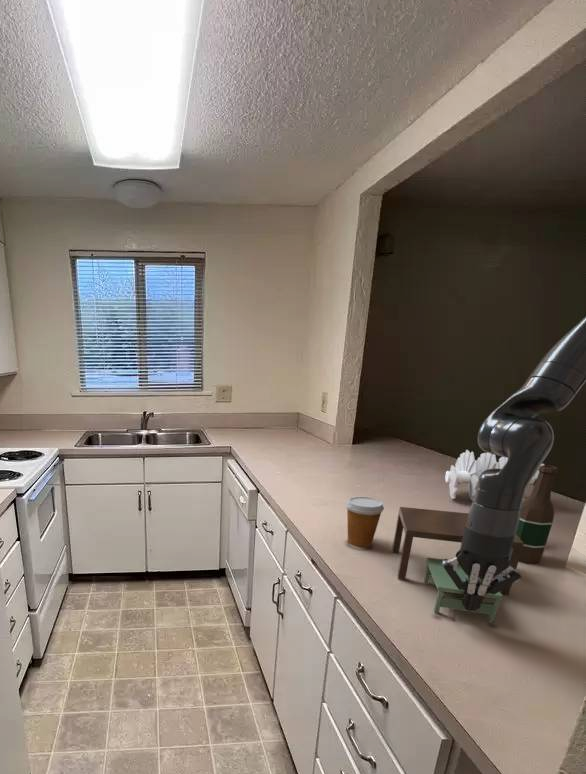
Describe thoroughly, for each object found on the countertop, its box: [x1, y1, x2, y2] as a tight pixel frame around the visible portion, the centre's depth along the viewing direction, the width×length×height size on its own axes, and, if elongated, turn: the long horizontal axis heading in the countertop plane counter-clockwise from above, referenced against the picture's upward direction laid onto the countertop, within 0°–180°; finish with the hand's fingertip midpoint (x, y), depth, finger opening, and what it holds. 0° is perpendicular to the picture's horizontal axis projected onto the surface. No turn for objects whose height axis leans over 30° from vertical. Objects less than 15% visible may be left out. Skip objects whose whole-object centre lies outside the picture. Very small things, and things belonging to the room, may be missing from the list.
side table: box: [391, 506, 524, 596], centre depth 103 cm, size 22×16×12 cm
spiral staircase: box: [444, 449, 545, 501], centre depth 148 cm, size 18×18×25 cm
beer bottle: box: [516, 464, 558, 565], centre depth 107 cm, size 8×8×24 cm
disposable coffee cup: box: [345, 496, 385, 548], centre depth 119 cm, size 10×10×12 cm
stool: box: [423, 557, 504, 623], centre depth 92 cm, size 11×14×6 cm
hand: (469, 608), depth 85 cm, fingers closed
